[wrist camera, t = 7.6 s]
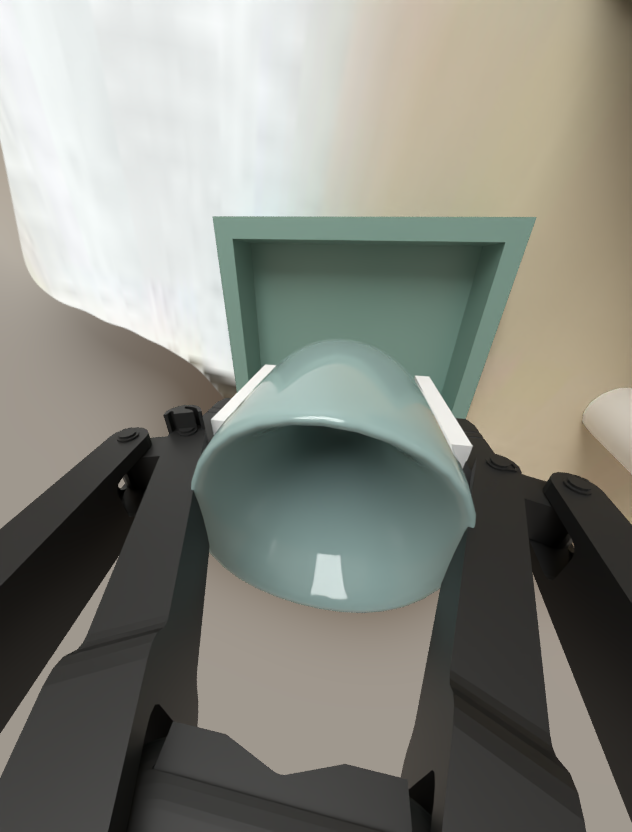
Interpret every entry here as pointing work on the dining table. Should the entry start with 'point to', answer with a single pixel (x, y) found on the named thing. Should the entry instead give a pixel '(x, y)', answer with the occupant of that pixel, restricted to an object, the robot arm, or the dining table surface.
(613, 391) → the foam cup
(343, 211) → the dining table surface
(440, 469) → the cup
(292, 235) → the tray
